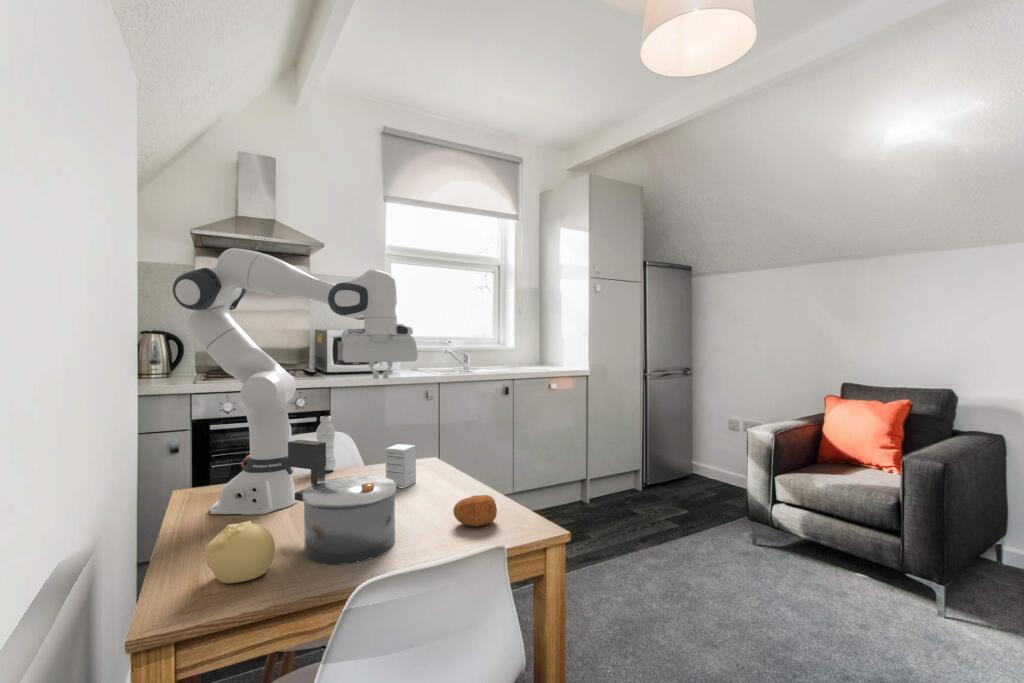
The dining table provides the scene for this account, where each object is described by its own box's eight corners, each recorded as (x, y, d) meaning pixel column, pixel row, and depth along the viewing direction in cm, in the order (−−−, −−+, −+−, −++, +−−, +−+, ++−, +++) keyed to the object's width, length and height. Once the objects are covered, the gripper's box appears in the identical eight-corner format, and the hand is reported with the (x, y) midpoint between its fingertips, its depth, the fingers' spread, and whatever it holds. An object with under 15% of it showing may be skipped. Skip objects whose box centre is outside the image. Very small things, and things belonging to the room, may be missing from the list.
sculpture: (228, 564, 106) (227, 513, 106) (284, 563, 107) (284, 513, 107) (194, 591, 95) (194, 534, 95) (258, 590, 95) (257, 534, 95)
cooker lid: (413, 485, 121) (413, 441, 121) (355, 512, 102) (354, 460, 102) (324, 473, 132) (324, 433, 132) (257, 496, 113) (256, 449, 113)
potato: (497, 531, 124) (496, 501, 123) (451, 532, 123) (451, 502, 123) (496, 518, 133) (496, 490, 133) (454, 519, 132) (454, 490, 132)
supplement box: (397, 480, 169) (397, 443, 169) (416, 482, 166) (416, 445, 166) (385, 486, 162) (384, 448, 162) (404, 489, 159) (404, 449, 159)
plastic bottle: (329, 473, 178) (329, 418, 178) (312, 472, 179) (312, 417, 179) (339, 469, 184) (338, 415, 184) (322, 468, 186) (322, 414, 186)
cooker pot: (412, 537, 120) (412, 487, 120) (351, 571, 102) (350, 513, 102) (331, 519, 132) (331, 474, 132) (264, 547, 114) (263, 495, 114)
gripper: (339, 328, 133) (340, 380, 133) (417, 328, 137) (417, 378, 137) (342, 329, 139) (343, 378, 139) (417, 329, 144) (417, 376, 144)
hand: (380, 378), depth 138 cm, fingers closed
